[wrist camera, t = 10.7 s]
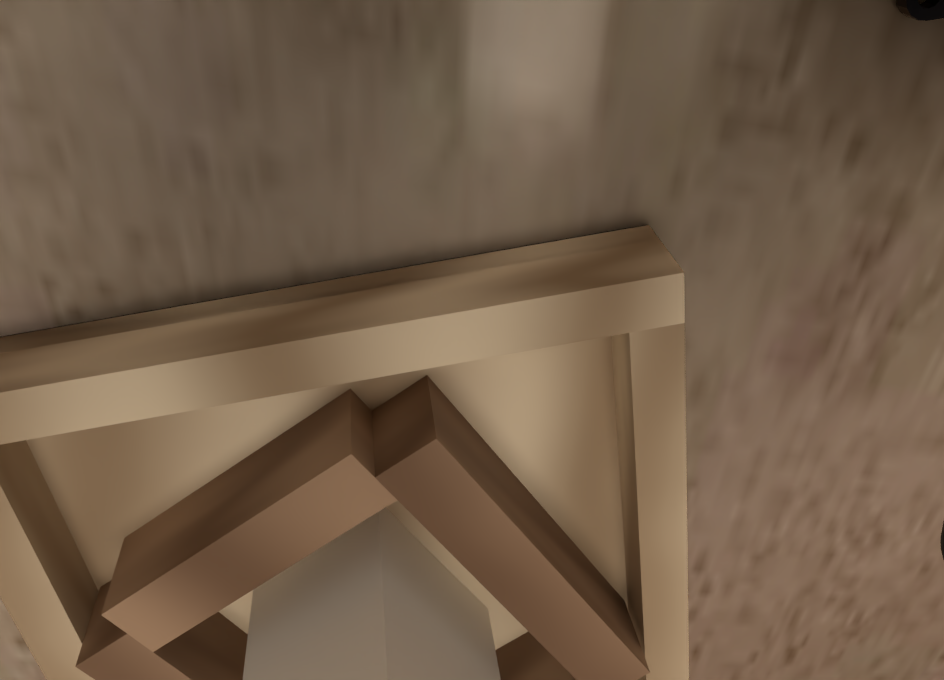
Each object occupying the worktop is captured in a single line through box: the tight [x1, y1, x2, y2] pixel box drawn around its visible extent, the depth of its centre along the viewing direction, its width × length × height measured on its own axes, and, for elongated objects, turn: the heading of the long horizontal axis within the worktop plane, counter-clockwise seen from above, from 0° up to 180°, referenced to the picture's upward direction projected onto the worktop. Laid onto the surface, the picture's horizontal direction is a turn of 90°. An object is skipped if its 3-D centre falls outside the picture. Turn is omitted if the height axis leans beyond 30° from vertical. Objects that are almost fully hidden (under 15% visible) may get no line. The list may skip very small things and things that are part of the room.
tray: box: [0, 225, 689, 680], centre depth 24 cm, size 16×18×3 cm
